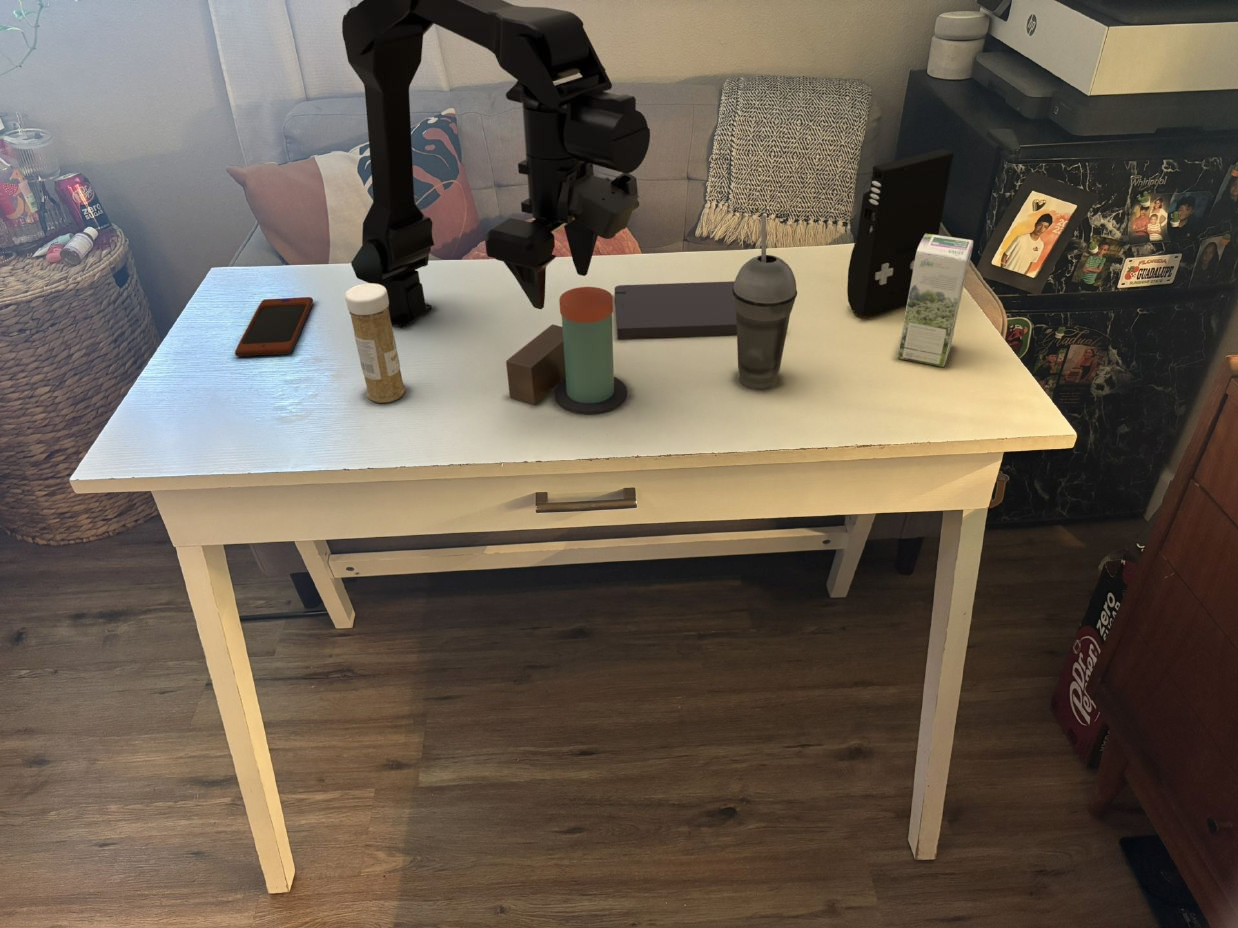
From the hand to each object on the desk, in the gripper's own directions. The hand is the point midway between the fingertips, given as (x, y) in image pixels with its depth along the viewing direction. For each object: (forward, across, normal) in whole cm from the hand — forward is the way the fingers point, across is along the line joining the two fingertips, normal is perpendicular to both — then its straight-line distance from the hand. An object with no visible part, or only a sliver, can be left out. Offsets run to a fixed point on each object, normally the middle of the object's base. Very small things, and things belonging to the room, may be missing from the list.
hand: (561, 291), depth 104 cm
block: (+13, 0, +3) cm, 13 cm away
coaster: (+12, 0, -4) cm, 13 cm away
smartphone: (+13, -5, +42) cm, 45 cm away
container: (+11, 0, +1) cm, 11 cm away
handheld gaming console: (+12, +38, -28) cm, 49 cm away
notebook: (+13, +24, -6) cm, 28 cm away
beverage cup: (+12, +12, -20) cm, 26 cm away
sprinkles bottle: (+13, -11, +18) cm, 25 cm away
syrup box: (+12, +27, -36) cm, 46 cm away
